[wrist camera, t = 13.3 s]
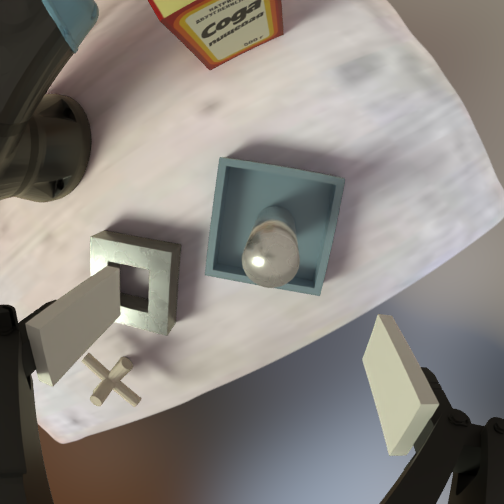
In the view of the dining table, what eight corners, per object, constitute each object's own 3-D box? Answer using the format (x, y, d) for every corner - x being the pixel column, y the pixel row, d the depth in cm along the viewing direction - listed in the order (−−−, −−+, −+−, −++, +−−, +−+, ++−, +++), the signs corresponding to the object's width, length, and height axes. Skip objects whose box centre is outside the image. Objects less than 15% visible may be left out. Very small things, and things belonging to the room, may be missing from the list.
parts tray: (225, 157, 36) (219, 157, 32) (340, 177, 35) (345, 178, 32) (211, 265, 39) (204, 275, 36) (317, 285, 39) (319, 295, 35)
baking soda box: (209, 70, 33) (157, 19, 18) (186, 30, 31) (128, -30, 16) (283, 34, 31) (277, -39, 15) (256, -5, 29) (236, -83, 14)
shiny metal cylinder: (258, 203, 36) (245, 229, 24) (297, 209, 35) (304, 237, 24) (252, 241, 37) (238, 283, 26) (291, 247, 37) (294, 291, 25)
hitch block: (104, 230, 40) (90, 236, 36) (181, 244, 39) (171, 252, 36) (105, 304, 43) (93, 315, 40) (175, 322, 42) (167, 335, 39)
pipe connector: (115, 321, 44) (80, 358, 34) (166, 367, 45) (142, 411, 35) (89, 355, 46) (57, 390, 37) (134, 395, 47) (110, 435, 38)
